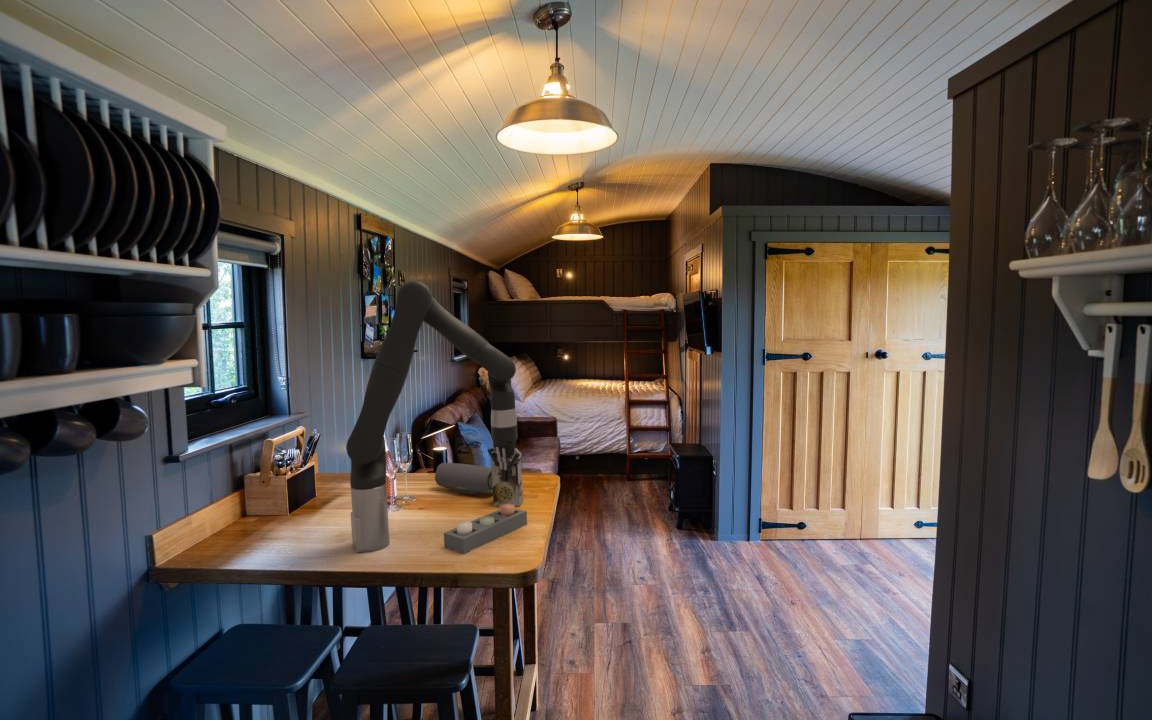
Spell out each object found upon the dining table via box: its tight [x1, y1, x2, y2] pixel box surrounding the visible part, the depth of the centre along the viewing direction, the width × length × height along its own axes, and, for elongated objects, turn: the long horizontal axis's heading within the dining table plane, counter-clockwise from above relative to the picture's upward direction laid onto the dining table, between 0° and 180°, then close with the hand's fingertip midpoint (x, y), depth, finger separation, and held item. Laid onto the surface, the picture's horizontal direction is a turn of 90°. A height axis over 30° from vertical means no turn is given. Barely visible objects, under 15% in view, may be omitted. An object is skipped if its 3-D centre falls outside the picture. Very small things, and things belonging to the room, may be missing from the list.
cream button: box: [456, 520, 472, 536], centre depth 155 cm, size 4×4×3 cm
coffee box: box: [490, 458, 524, 507], centre depth 189 cm, size 9×6×16 cm
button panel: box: [443, 507, 528, 554], centre depth 162 cm, size 25×8×4 cm, turn 143°
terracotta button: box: [499, 504, 516, 517], centre depth 169 cm, size 4×4×3 cm
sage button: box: [479, 516, 495, 526], centre depth 162 cm, size 4×4×3 cm
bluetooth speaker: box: [434, 462, 493, 495], centre depth 202 cm, size 23×9×10 cm, turn 64°
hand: (506, 481), depth 168 cm, fingers closed
